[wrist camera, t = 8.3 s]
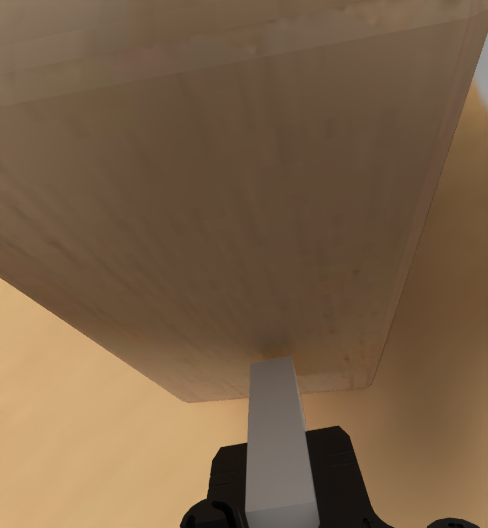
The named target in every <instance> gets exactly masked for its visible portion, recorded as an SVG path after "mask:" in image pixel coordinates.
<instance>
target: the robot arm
mask: <svg viewBox="0 0 488 528" xmlns="http://www.w3.org/2000/svg"><path fill="white" fill-rule="evenodd" d="M210 476H211V478H210V480H209V489H208V494H207V499H204V500H201V501H200V502H198V503H197V504H195V505H194V506H192V507H191V508H190V509H189V511H188V512H187V513H186V514H185V515H184V517H183V519H182V522H181V524H180V528H394V527H392V526H389V525H387V524H386V523H385V522H383V521H382V520H381V519H380V518H379V517H378V516H377V515H376V514H375V512H374V510H373V508H372V506H371V503H370V500H369V497H368V494H367V491H366V487H365V484H364V481H363V478H362V475H361V471H360V468H359V465H358V462H357V459H356V455H355V452H354V449H353V446H352V443H351V440H350V436H349V435H348V434H347V433H346V432H345V431H344V430H343V429H342V428H341V427H339V426H334V427H328V428H322V429H317V430H311V431H307V425H306V420H305V415H304V410H303V406H302V401H301V397H300V392H299V387H298V383H297V378H296V374H295V369H294V364H293V360H292V355H291V356H286V357H281V358H276V359H270V360H265V361H260V362H254V363H250V385H249V414H248V443H243V444H237V445H231V446H225V447H221V448H220V449H219V451H218V452H217V454H216V456H215V457H214V459H213V460H212V466H211V473H210ZM427 528H480V527H478V526H477V525H475V524H473V523H470V522H468V521H466V520H463V519H456V518H445V519H439V520H436V521H435V522H433V523H431V524H430V525H428V526H427Z"/></svg>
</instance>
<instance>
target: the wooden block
mask: <svg viewBox="0 0 488 528" xmlns="http://www.w3.org/2000/svg"><path fill="white" fill-rule="evenodd" d="M487 33H488V0H0V278H2V279H3V280H4V281H6V282H7V283H9V284H10V285H12V286H13V287H15V288H16V289H18V290H19V291H21V292H22V293H24V294H25V295H27V296H28V297H30V298H31V299H33V300H34V301H36V302H37V303H38V304H40V305H41V306H43V307H44V308H46V309H47V310H49V311H50V312H52V313H53V314H55V315H56V316H58V317H59V318H61V319H62V320H64V321H65V322H67V323H68V324H69V325H71V326H72V327H74V328H75V329H77V330H78V331H80V332H81V333H83V334H84V335H86V336H87V337H89V338H90V339H92V340H93V341H95V342H96V343H98V344H99V345H101V346H102V347H103V348H105V349H106V350H108V351H109V352H111V353H112V354H114V355H115V356H117V357H118V358H120V359H121V360H123V361H124V362H126V363H127V364H129V365H130V366H132V367H133V368H135V369H136V370H137V371H139V372H140V373H142V374H143V375H145V376H146V377H148V378H149V379H151V380H152V381H154V382H155V383H157V384H158V385H160V386H161V387H163V388H164V389H166V390H167V391H168V392H170V393H171V394H173V395H174V396H176V397H177V398H179V399H180V400H182V401H184V402H187V403H195V402H207V401H219V400H231V399H242V398H249V385H250V363H254V362H260V361H265V360H270V359H276V358H281V357H286V356H291V355H292V360H293V364H294V369H295V374H296V378H297V383H298V387H299V392H300V394H302V393H313V392H325V391H337V390H349V389H361V388H366V387H368V386H370V385H372V382H373V379H374V375H375V372H376V369H377V366H378V363H379V360H380V357H381V354H382V351H383V348H384V345H385V342H386V339H387V336H388V333H389V330H390V327H391V324H392V321H393V318H394V315H395V312H396V309H397V306H398V303H399V300H400V297H401V294H402V291H403V288H404V285H405V281H406V278H407V275H408V272H409V269H410V266H411V263H412V260H413V257H414V254H415V251H416V248H417V245H418V242H419V239H420V236H421V233H422V230H423V227H424V224H425V221H426V218H427V215H428V212H429V209H430V206H431V203H432V200H433V197H434V194H435V190H436V187H437V184H438V181H439V178H440V175H441V172H442V169H443V166H444V163H445V160H446V157H447V154H448V151H449V148H450V145H451V142H452V139H453V136H454V133H455V130H456V127H457V124H458V121H459V118H460V115H461V112H462V109H463V106H464V103H465V100H466V96H467V93H468V90H469V87H470V84H471V81H472V78H473V75H474V72H475V69H476V66H477V63H478V60H479V57H480V54H481V51H482V48H483V45H484V42H485V39H486V36H487Z"/></svg>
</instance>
